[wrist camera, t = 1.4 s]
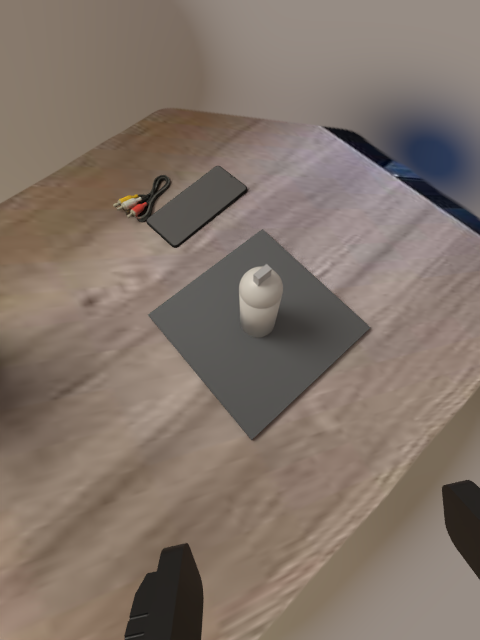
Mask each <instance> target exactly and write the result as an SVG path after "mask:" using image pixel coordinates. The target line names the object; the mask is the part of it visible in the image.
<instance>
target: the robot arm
mask: <svg viewBox="0 0 480 640" xmlns="http://www.w3.org/2000/svg"><path fill="white" fill-rule="evenodd" d="M442 495H443V505H444V517H445V525H446V528H447V531H448V534H449V536H450V538H451V540H452V542H453V543H454V545H455V547H456V548H457V550H458V551H459V552H460V554H461V555H462V556H463V558H464V559H465V560H466V562H467V563H468V564H469V566H470V567H471V568H472V570H473V571H474V573H475V574H476V575H477V577H478V578H479V579H480V488H479V487H478V486H477V485H476V484H475V483H474V482H472V481H470V480H465V481H460V482H456V483H452V484H447V485H444V486H443V487H442ZM202 616H203V586H202V581H201V577H200V574H199V571H198V569H197V566H196V563H195V560H194V558H193V555H192V552H191V549H190V547H189V545H188V543H185V544H180V545H176V546H172V547H167V548H164V549H163V550H162V552H161V555H160V560H159V564H158V569H157V571H156V572H152V573H148V574H146V576H145V578H144V580H143V582H142V583H141V585H140V587H139V589H138V590H137V592H136V594H135V597H134V601H133V605H132V609H131V613H130V620H129V621H128V624H127V628H126V632H125V640H201V631H202Z"/></svg>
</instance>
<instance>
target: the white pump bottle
mask: <svg viewBox="0 0 480 640" xmlns="http://www.w3.org/2000/svg"><path fill="white" fill-rule="evenodd" d="M282 293H283V284H282V280H281V278H280V276H279V275H278V274H277V273H276V272H275V271H274V270H272V269H271V268H270V267H269V266H268V265H267V264H266V265H264V266H263V267H255V268H252V269H250V270H249V271H247V272H246V273H245V274H244V275H243V277H242V279H241V281H240V284H239V301H240V323H241V327H242V329H243V330H244V332H245V333H246V334H248V335H250V336H252V337H257V338H259V337H264V336H266V335H268V334H269V333H270V332H271V331H272V330H273V328H274V326H275V322H276V317H277V313H278V309H279V305H280V301H281V297H282Z"/></svg>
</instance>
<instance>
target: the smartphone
mask: <svg viewBox="0 0 480 640" xmlns="http://www.w3.org/2000/svg"><path fill="white" fill-rule="evenodd" d="M246 192H247V187H246V186H245V185H244V184H243V183H241V182H240V181H239V180H237V179H236V178H235V177H233V176H232V175H231V174H229V173H228V172H227V171H226V170H224V169H223V168H222V167H220V166H216V167H214V168H213V169H212V170H210V171H209V172H208V173H206V174H205V175H204V176H202V177H201V178H200V179H199V180H197V181H196V182H195V183H193V184H192V185H191V186H189V187H188V188H187V189H185V190H184V191H183V192H182V193H180V194H179V195H178V196H176V197H175V198H174V199H172V200H171V201H170V202H168V203H167V204H166V205H165V206H163V207H162V208H161V209H159V210H158V211H157V212H155V213H154V214H153V215H151V216H150V217H149V218H148V219H147V224H148V225H149V226H150V227H151V228H152V229H153V230H154V231H156V232H157V233H158V234H159V235H160V236H161V237H162V238H163V239H164V240H165V241H167V242H168V243H169V244H170V245H171V246H172V247H174V248H177V247H178V246H180V245H181V244H182V243H183V242H185V241H186V240H187V239H188V238H190V237H191V236H192V235H193V234H195V233H196V232H197V231H198V230H200V229H201V228H202V227H203V226H205V225H206V224H207V223H208V222H210V221H211V220H212V219H213V218H215V217H216V216H217V215H218V214H220V213H221V212H222V211H223V210H225V209H226V208H227V207H228V206H230V205H231V204H232V203H233V202H235V201H236V200H237V199H238V198H240V197H241V196H242V195H243V194H245V193H246Z"/></svg>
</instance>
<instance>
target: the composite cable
mask: <svg viewBox="0 0 480 640" xmlns="http://www.w3.org/2000/svg"><path fill="white" fill-rule="evenodd" d="M162 180H165V181H166V184H165V185H164V186H163V187H162V188H161V189H160V190H159V191H157V192H156V190H157V187H158V185H159V183H160V182H161V181H162ZM169 184H170V180H169V177H167V176H166V175H160V176H158V177H157V178H156V179H155V180H154V182H153V188H152V190H151V192H150V193H149V194H147V195H137V194H136V195H134V196H130V195H129V196H126V197H124V198H121V199H119V200H118V203H116V204H113V206H114V207H117V206H119V205H121V207H119V208H117V210H121V209H124V210H128V211H127V212H126V215H127V217H128V218H129V217H131V216H133V217H134V216H136V217H137V219H138V220H139V221H140V222H143V221H145V220H147V219H148V217H149V216H150V214H151V210H152V206H153V203H154V201H155V200H156V199H157V197H158V196H160V195H161V194H162V193H163V192H164V191H165V190H166V189H167V188H168V186H169ZM148 204H149V206H148V210H147V212H146V213H145V214H144V215H143V216H140V217H139V214H140V213H141V212H142V211H144V208H145V207H146V206H147V205H148Z"/></svg>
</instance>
